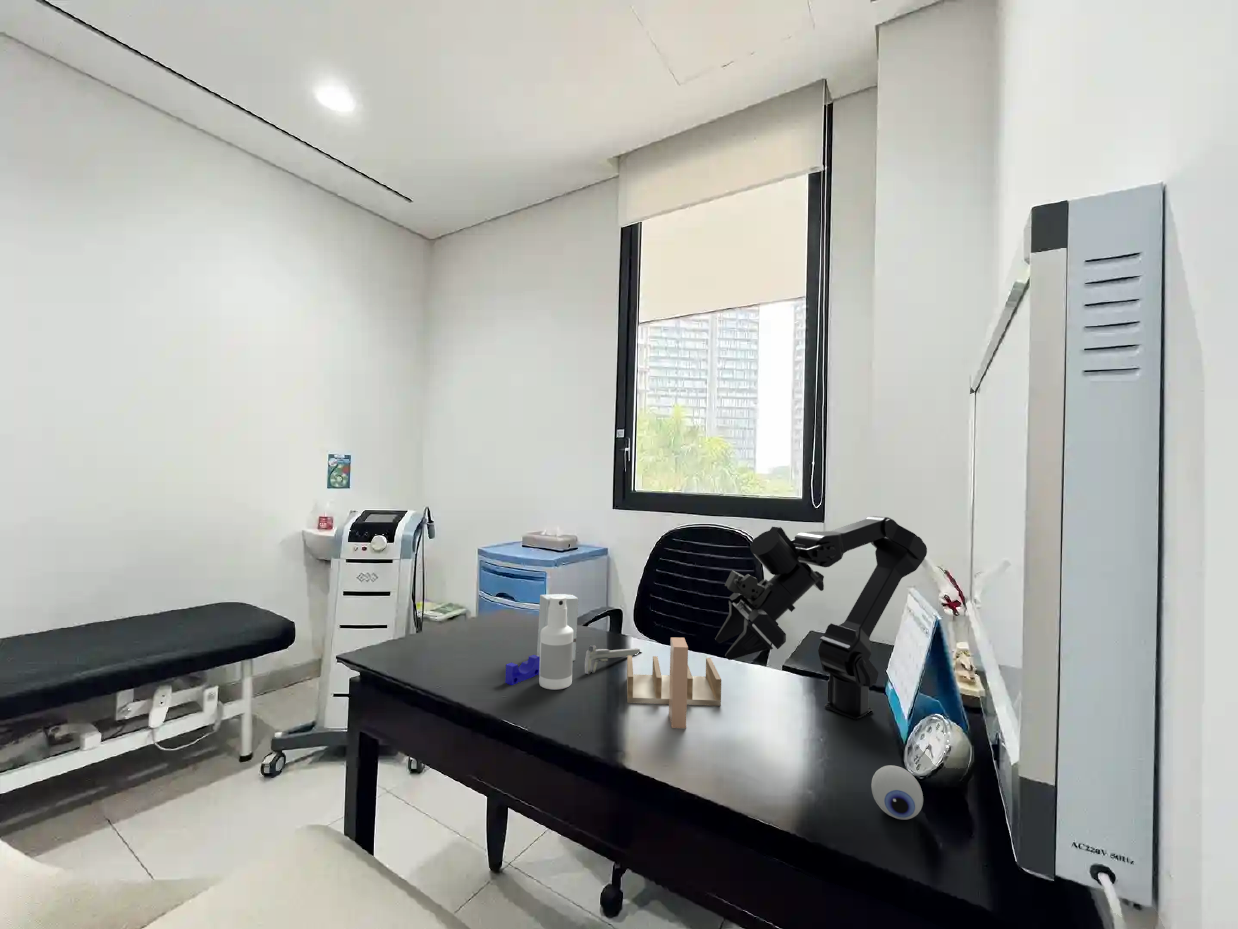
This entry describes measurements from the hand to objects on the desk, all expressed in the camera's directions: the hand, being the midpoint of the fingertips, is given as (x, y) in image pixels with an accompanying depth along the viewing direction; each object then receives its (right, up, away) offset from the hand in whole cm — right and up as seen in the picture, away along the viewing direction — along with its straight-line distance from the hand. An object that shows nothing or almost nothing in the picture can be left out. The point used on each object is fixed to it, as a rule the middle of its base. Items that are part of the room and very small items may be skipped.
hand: (721, 649), depth 93 cm
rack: (-8, -13, +12) cm, 20 cm away
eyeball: (+18, -13, -25) cm, 33 cm away
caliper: (-19, -14, +28) cm, 37 cm away
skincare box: (-33, -13, +30) cm, 47 cm away
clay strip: (-8, -13, 0) cm, 15 cm away
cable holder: (-40, -13, +18) cm, 45 cm away
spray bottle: (-32, -13, +15) cm, 37 cm away
